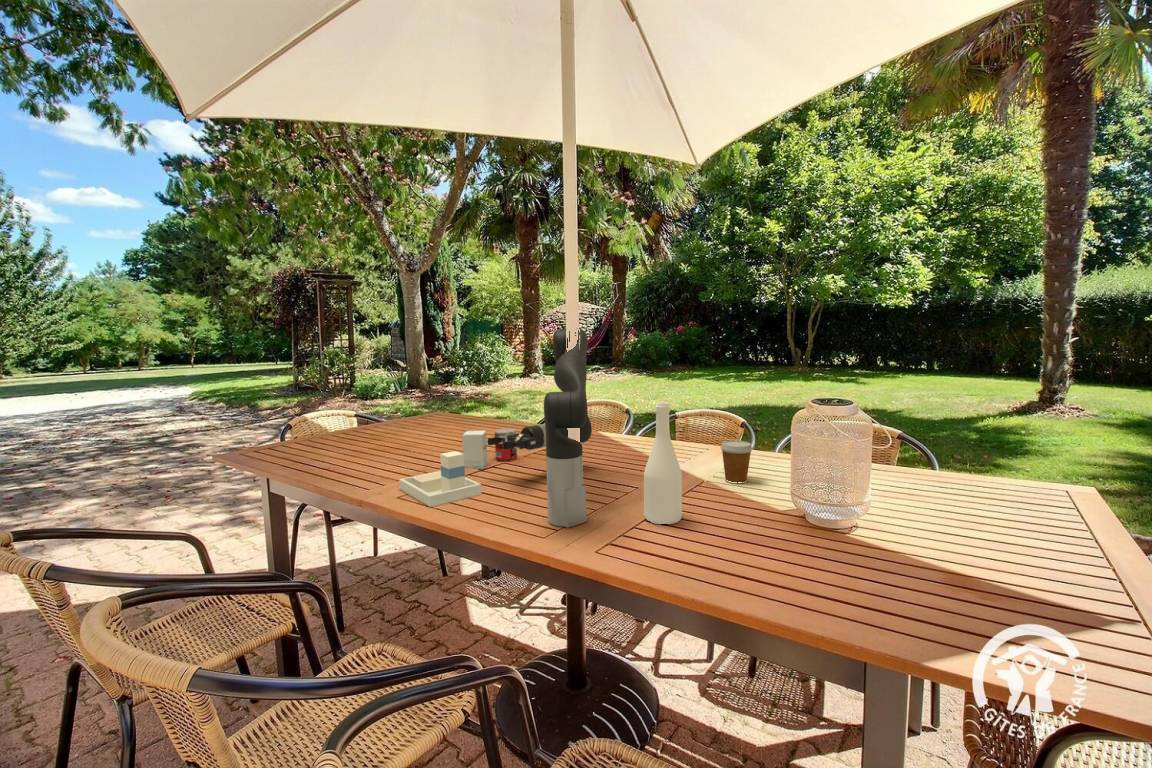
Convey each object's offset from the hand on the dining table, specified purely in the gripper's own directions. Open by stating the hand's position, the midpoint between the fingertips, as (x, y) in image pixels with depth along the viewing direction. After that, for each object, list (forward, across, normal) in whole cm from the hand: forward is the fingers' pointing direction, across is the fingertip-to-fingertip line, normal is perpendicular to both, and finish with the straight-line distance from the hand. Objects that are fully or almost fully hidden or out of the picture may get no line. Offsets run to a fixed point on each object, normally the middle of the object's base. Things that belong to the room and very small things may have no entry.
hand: (495, 443), depth 162 cm
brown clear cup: (-59, +45, +14) cm, 76 cm away
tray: (+15, -7, +14) cm, 22 cm away
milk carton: (+13, -2, +13) cm, 19 cm away
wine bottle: (-18, +51, +15) cm, 56 cm away
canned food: (-22, -29, +14) cm, 39 cm away
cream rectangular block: (+15, -12, +13) cm, 24 cm away
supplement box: (-8, -27, +14) cm, 32 cm away
